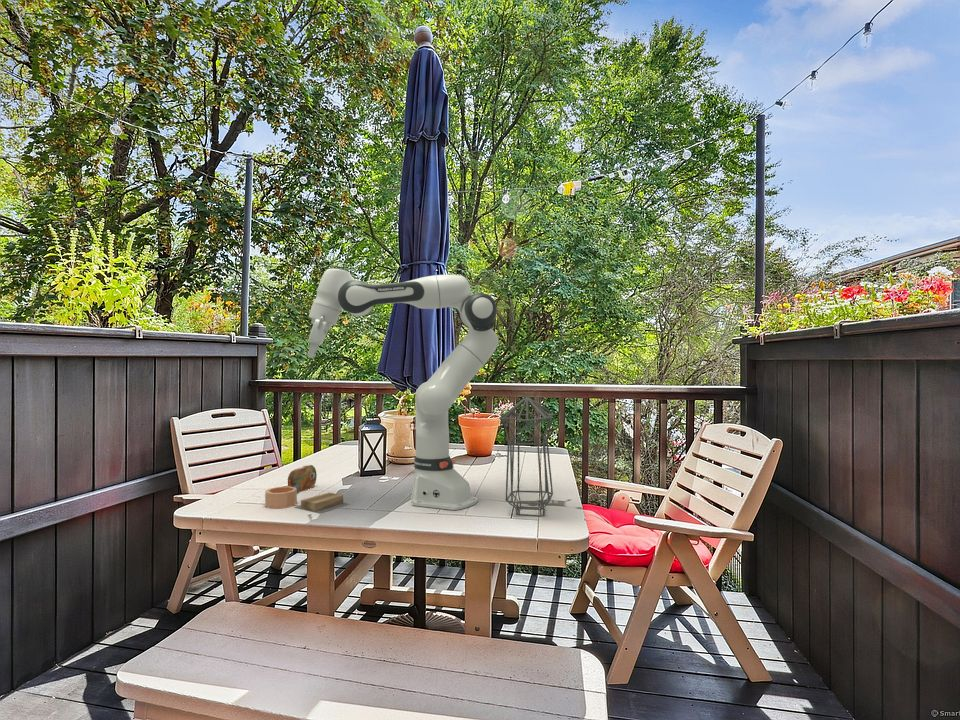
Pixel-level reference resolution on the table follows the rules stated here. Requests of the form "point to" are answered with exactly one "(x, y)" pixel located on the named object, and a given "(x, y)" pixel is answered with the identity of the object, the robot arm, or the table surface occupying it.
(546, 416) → the geometric lantern
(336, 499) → the cover board
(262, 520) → the table surface
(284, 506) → the bowl
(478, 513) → the table surface
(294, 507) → the mat
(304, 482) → the brown mottled rounded slab
